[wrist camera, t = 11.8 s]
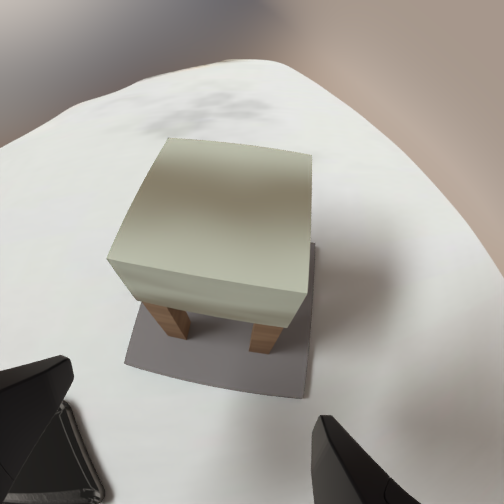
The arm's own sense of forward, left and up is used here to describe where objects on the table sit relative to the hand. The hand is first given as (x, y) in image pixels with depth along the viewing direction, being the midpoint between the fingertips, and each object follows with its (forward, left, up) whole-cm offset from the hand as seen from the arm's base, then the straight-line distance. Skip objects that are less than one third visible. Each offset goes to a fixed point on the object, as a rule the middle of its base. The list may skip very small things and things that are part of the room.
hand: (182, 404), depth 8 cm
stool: (+5, +5, -7) cm, 10 cm away
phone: (-16, +2, -8) cm, 18 cm away
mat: (+5, +5, -8) cm, 10 cm away
